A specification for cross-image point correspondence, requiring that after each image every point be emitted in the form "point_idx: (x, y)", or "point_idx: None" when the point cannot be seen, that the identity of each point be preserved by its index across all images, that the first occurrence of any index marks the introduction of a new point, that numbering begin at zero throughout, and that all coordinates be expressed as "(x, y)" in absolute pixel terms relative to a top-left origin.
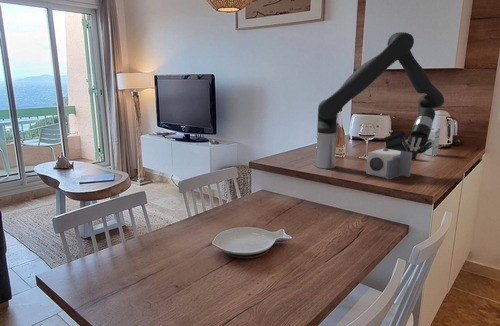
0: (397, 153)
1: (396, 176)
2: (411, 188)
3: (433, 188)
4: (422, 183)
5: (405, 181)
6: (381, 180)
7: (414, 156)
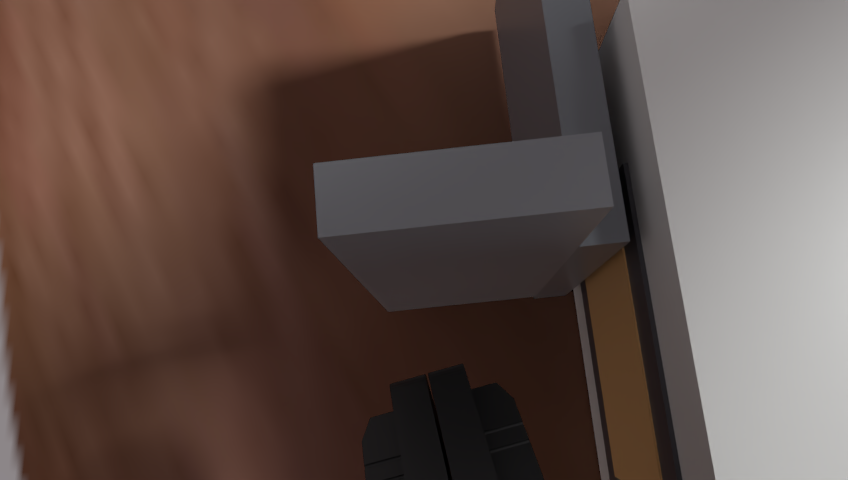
0: (798, 361)
1: (575, 297)
2: (189, 11)
3: (34, 193)
4: (204, 283)
5: None
6: None
7: (380, 446)
